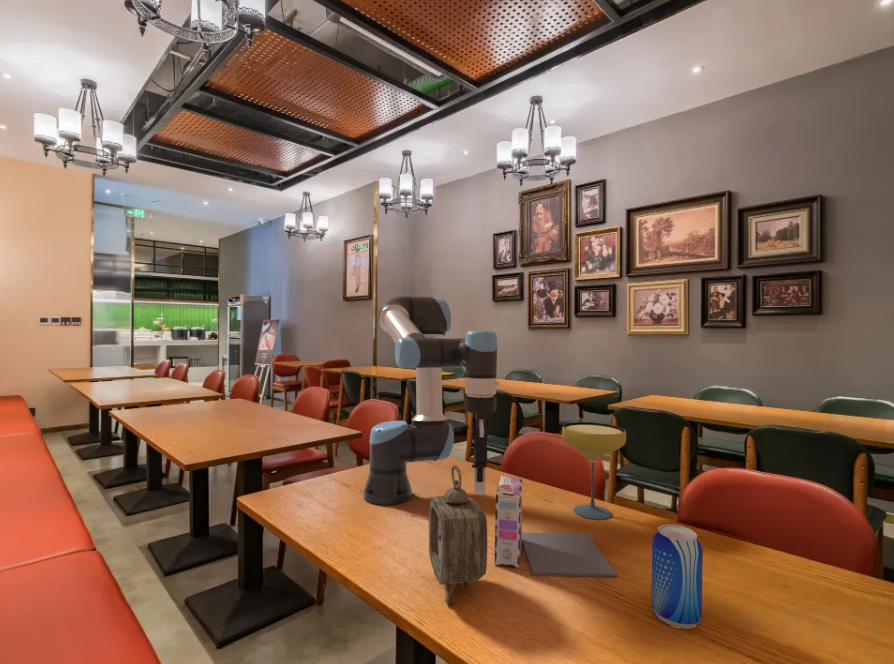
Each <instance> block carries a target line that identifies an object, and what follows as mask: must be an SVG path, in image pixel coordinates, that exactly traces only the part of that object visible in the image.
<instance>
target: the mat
mask: <svg viewBox="0 0 894 664" xmlns="http://www.w3.org/2000/svg"><path fill="white" fill-rule="evenodd" d="M521 545H523V549H524V553H525V555H526V558H527V561H528V563H529V567H530V569H531V572H532V575H533V576H552V577H553V576H557V577H559V576H560V577H562V576H563V577H603V578H604V577H607V578H610V577H611V578H612V577H614V578H615V577H616V578H617V573H616V571H615V570H614V568H613V567H612V566H611V564H610V563H609V561H608V559H607V558H606V557H605V556H604V554H603V552H601V549H600V548H599V547H598V546H597V544H596V542H595V541H594V539H593V538H592V537H591V535H590V534H589V533H577V532H576V533H575V532H574V533H572V532H571V533H570V532H565V533H564V532H525V531H524V532H522V539H521Z"/></svg>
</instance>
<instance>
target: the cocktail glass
mask: <svg viewBox="0 0 894 664" xmlns="http://www.w3.org/2000/svg"><path fill="white" fill-rule="evenodd" d="M561 436H562V439H563V440H564V442H565V443H566V444H567V445H568V446H570V447H572V448H573V449H575V450H576V451H578V452H579V453H581V454H583V455H584V456H585V457H586V459H587V460H588V461H589V462H590V463H591V490H590V491H591V492H590V493H591V494H590V503H589V504H580V505H576V506H574V507H575V508H574V507H573V512H574V513H575V514H576V513H577V514H578V515H577V514H576V515H577V516H579V515H580V516H579V517H581V516H583V517H582V518H584V517H585V518H584V519H588V518H590V519H589V520H594V519H603V520H607V518H608V519H610V518H612V514H611V513H612V512H611V511H610V510H609V509H608V508H606V507H603V506H599V505H596V503H595V463H597V462H598V461H599V460H600V458H602V456H605V455H608V454H610V453H614V452H615V451H618V450H620V449H621V448H622V447H624V445H626V441H627V431H626V430H625V429H624V428H622V427H621V426H617V425H614V424H607V423H601V422H587V421H580V422H579V421H577V422H569V423H565V424H563V426H562V429H561ZM609 517H610V518H609Z"/></svg>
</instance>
